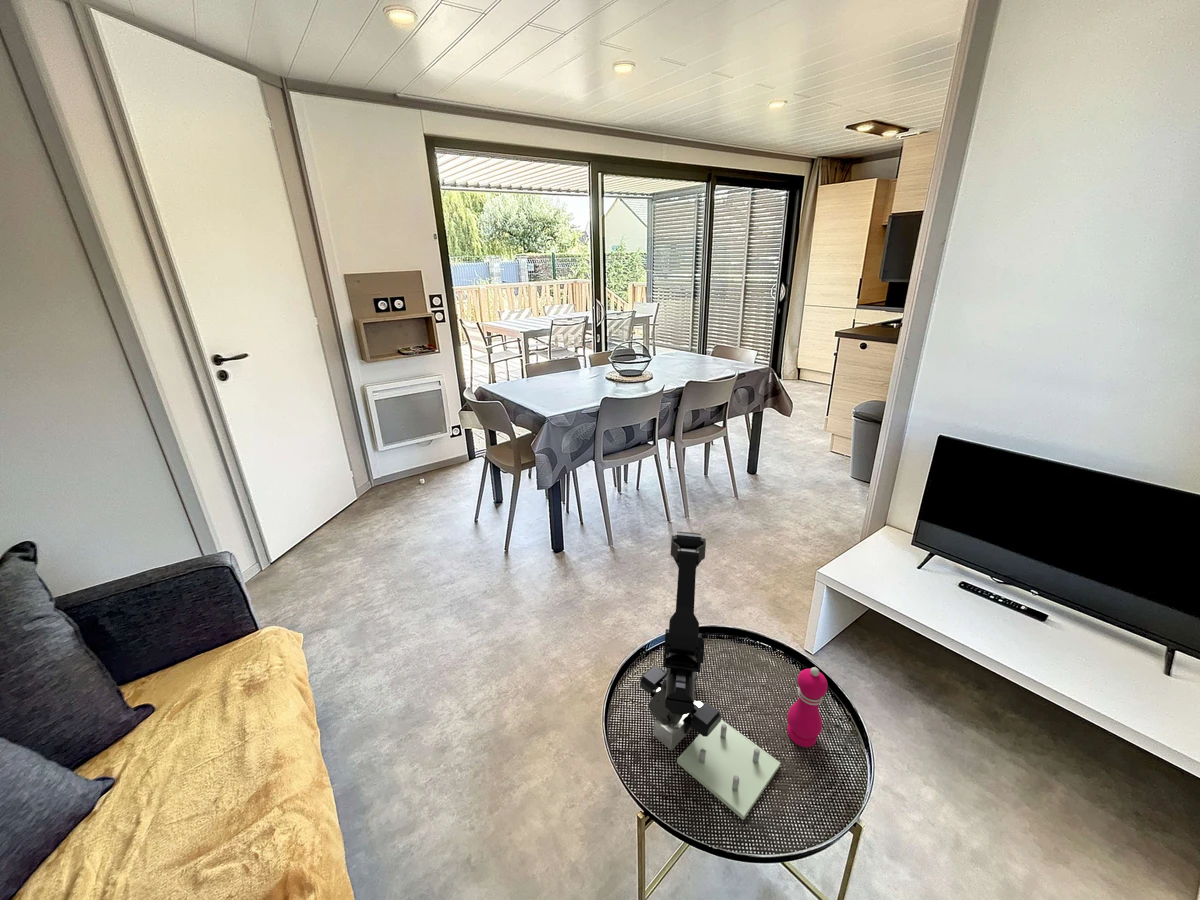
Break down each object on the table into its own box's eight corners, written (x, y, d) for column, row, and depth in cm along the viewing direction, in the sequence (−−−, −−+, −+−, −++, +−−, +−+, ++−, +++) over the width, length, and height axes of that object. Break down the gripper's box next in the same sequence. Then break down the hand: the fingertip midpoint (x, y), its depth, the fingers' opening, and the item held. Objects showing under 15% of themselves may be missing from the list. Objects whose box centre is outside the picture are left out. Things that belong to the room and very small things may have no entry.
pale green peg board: (676, 762, 103) (678, 749, 102) (715, 719, 113) (717, 706, 111) (743, 820, 93) (745, 806, 91) (779, 766, 102) (782, 753, 101)
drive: (671, 750, 106) (672, 734, 104) (653, 735, 109) (654, 720, 107) (699, 721, 113) (700, 705, 111) (681, 707, 116) (683, 692, 114)
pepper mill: (824, 748, 106) (841, 681, 99) (793, 751, 106) (807, 683, 98) (809, 719, 113) (823, 654, 105) (779, 721, 112) (791, 656, 105)
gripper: (624, 670, 106) (623, 721, 112) (694, 725, 93) (689, 778, 99) (656, 644, 113) (654, 693, 119) (725, 691, 100) (719, 743, 106)
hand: (677, 725), depth 110 cm, fingers closed on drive, 5 cm apart
